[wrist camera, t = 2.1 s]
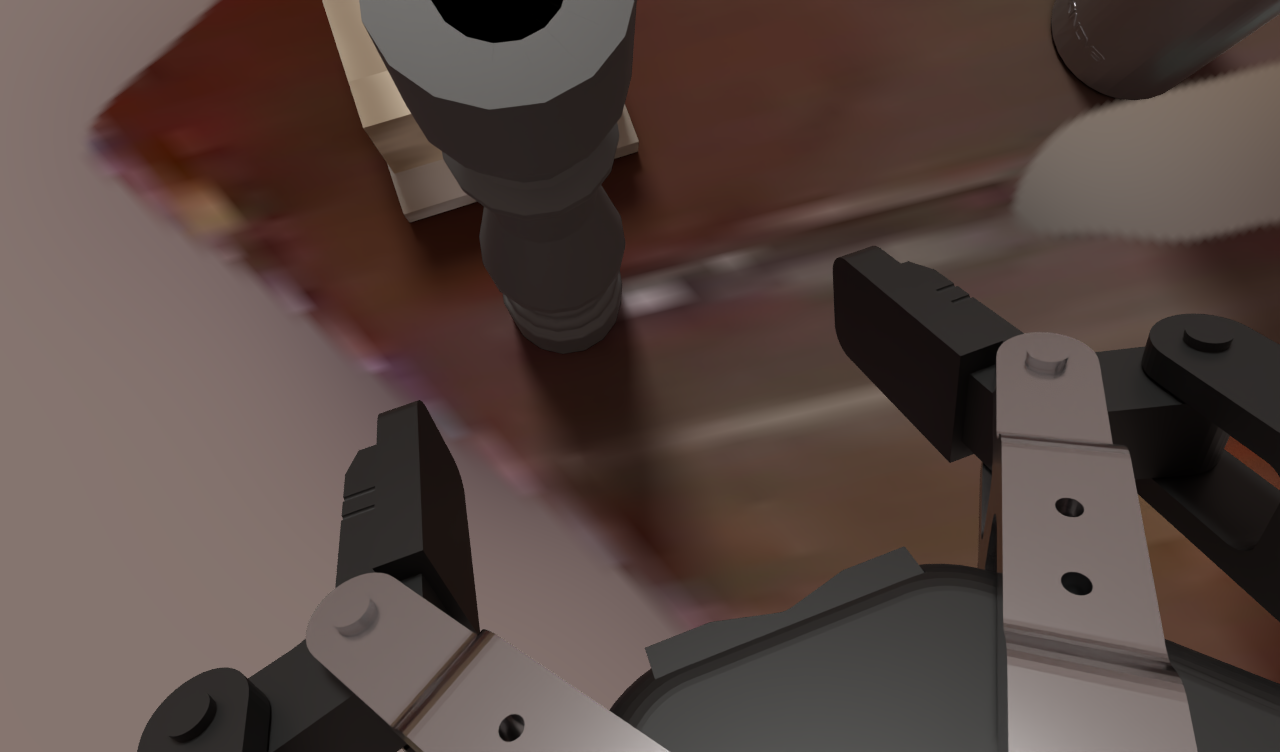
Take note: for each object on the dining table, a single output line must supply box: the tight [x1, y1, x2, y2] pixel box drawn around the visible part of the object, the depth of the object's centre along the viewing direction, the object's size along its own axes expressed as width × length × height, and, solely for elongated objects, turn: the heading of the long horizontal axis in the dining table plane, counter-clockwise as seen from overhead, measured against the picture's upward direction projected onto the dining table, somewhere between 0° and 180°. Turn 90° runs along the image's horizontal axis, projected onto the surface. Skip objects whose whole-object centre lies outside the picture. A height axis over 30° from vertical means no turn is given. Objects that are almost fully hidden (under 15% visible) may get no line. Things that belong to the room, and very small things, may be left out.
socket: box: [322, 0, 639, 222], centre depth 38 cm, size 14×18×6 cm
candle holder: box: [359, 0, 637, 354], centre depth 26 cm, size 6×6×25 cm
